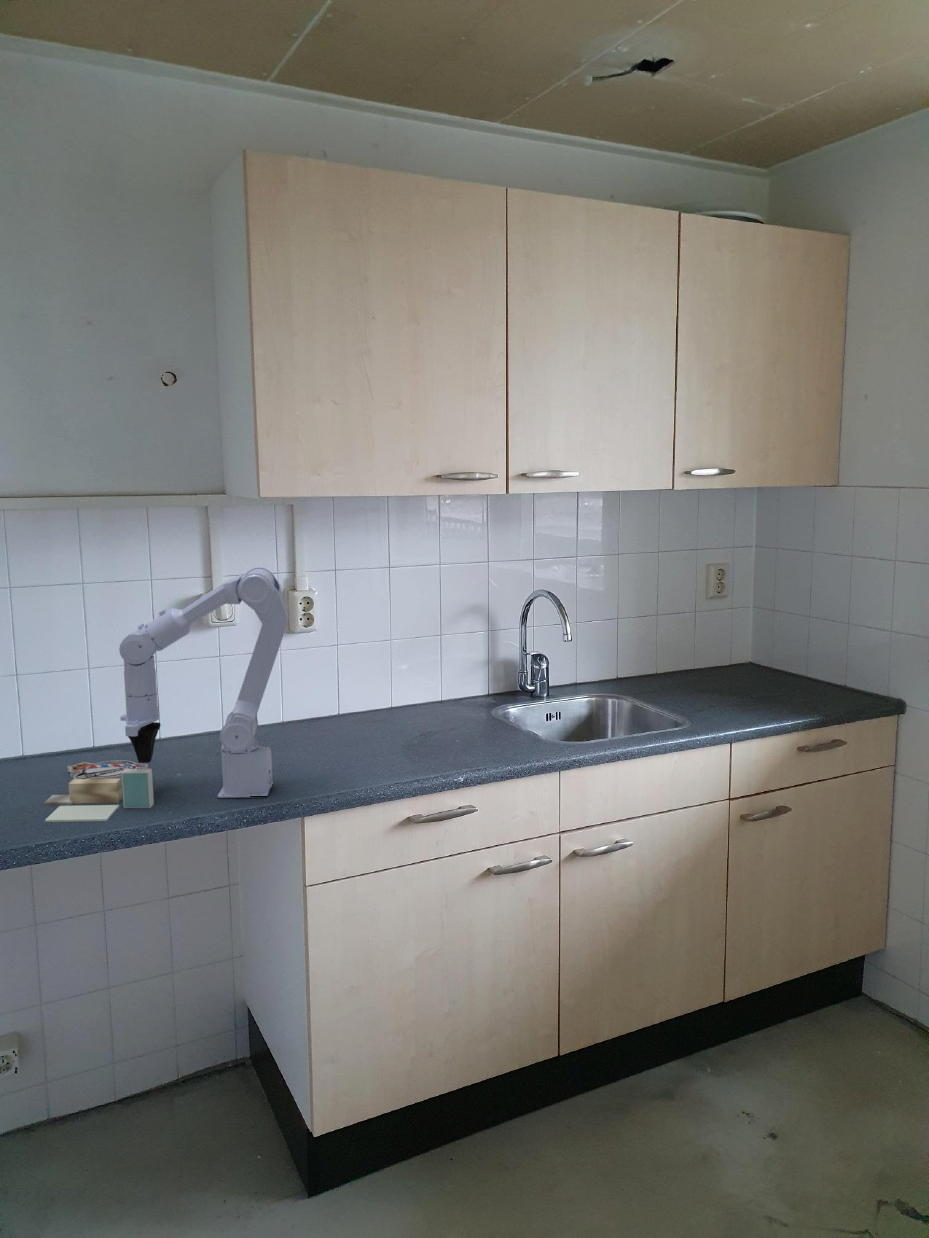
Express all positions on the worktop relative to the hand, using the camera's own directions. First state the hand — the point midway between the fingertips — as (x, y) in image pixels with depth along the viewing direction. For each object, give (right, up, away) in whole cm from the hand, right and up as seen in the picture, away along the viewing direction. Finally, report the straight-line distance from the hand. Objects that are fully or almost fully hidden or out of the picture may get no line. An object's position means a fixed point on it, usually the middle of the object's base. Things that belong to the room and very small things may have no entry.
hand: (145, 761), depth 180 cm
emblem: (-12, -5, +14) cm, 20 cm away
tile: (0, -8, -4) cm, 9 cm away
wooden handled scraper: (-11, -7, -2) cm, 13 cm away
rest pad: (-9, -8, -8) cm, 15 cm away
